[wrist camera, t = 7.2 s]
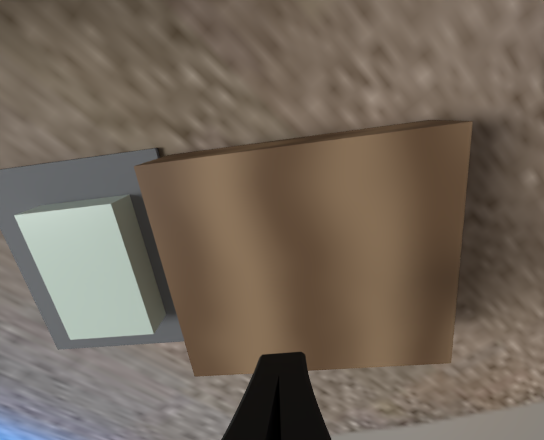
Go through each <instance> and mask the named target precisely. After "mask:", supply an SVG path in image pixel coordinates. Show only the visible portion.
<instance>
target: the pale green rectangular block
mask: <svg viewBox="0 0 544 440" xmlns="http://www.w3.org/2000/svg"><path fill="white" fill-rule="evenodd" d="M14 217H15V219H16V221H17V223H18V225H19V228H20V230H21V232H22V234H23V236H24V239H25V241H26V243H27V245H28V248H29V250H30V252H31V254H32V256H33V259H34V261H35V263H36V265H37V267H38V270H39V272H40V274H41V276H42V278H43V281H44V283H45V285H46V287H47V290H48V292H49V294H50V296H51V298H52V301H53V303H54V305H55V307H56V309H57V312H58V314H59V316H60V318H61V320H62V323H63V325H64V327H65V329H66V332H67V334H68V336H69V338H70V340H75V339H89V338H104V337H118V336H133V335H147V334H154V333H155V331H156V330H157V328H158V327H159V325H160V323H161V322H162V320H163V319H164V317H165V315H166V312H165V309H164V306H163V303H162V299H161V296H160V293H159V290H158V286H157V283H156V280H155V276H154V273H153V270H152V267H151V263H150V260H149V257H148V254H147V250H146V247H145V244H144V240H143V237H142V234H141V231H140V227H139V224H138V221H137V218H136V214H135V211H134V208H133V204H132V201H131V198H130V195H122V196H114V197H106V198H98V199H89V200H81V201H73V202H65V203H56V204H48V205H41V206H38V207H36V208H33V209H30V210H27V211H25V212H22V213H19V214H16V215H14Z"/></svg>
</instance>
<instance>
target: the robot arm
mask: <svg viewBox="0 0 544 440" xmlns="http://www.w3.org/2000/svg"><path fill="white" fill-rule="evenodd" d="M221 440H331V437H330V435H329V432H328V430H327V428H326V425H325V423H324V420H323V417H322V415H321V412H320V409H319V407H318V404H317V401H316V398H315V395H314V392H313V389H312V386H311V382H310V379H309V375H308V369H307V362H306V356H305V354H304V353H303V352H289V353H276V354H262V355H261V356H260V357H259V360H258V362H257V365H256V368H255V370H254V373H253V375H252V378H251V380H250V382H249V385H248V387H247V389H246V391H245V394H244V396H243V398H242V400H241V402H240V404H239V406H238V408H237V410H236V412H235V414H234V416H233V419H232V421H231V423H230V425H229V426H228V428H227V430H226V432H225V434H224V436H223V438H222V439H221Z"/></svg>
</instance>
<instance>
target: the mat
mask: <svg viewBox="0 0 544 440" xmlns="http://www.w3.org/2000/svg"><path fill="white" fill-rule="evenodd" d="M158 158H160V156H159V152H158V148H153V149H146V150H139V151H132V152H124V153H117V154H110V155H102V156H95V157H88V158H81V159H73V160H66V161H59V162H52V163H44V164H37V165H30V166H23V167H15V168H8V169H1V170H0V229H1V231H2V234H3V236H4V238H5V240H6V242H7V244H8V246H9V248H10V250H11V252H12V254H13V257H14V259H15V261H16V263H17V265H18V267H19V269H20V271H21V273H22V275H23V278H24V280H25V282H26V284H27V286H28V288H29V290H30V292H31V294H32V296H33V299H34V301H35V303H36V305H37V307H38V309H39V311H40V313H41V315H42V317H43V320H44V322H45V324H46V326H47V328H48V330H49V332H50V334H51V336H52V338H53V341H54V343H55V345H56V347H57V349H73V348H88V347H104V346H119V345H134V344H149V343H165V342H180V341H184V338H183V334H182V331H181V328H180V324H179V321H178V317H177V314H176V310H175V307H174V304H173V300H172V297H171V293H170V290H169V286H168V283H167V279H166V276H165V273H164V269H163V266H162V262H161V259H160V255H159V252H158V249H157V245H156V242H155V238H154V235H153V231H152V228H151V225H150V221H149V218H148V214H147V211H146V207H145V204H144V201H143V197H142V194H141V190H140V187H139V183H138V180H137V177H136V173H135V170H134V166H136V165H139V164H142V163H145V162H148V161H151V160H155V159H158ZM122 195H130V198H131V201H132V204H133V208H134V211H135V214H136V218H137V221H138V224H139V227H140V231H141V234H142V237H143V240H144V244H145V247H146V250H147V254H148V257H149V260H150V263H151V267H152V270H153V273H154V276H155V280H156V283H157V286H158V290H159V293H160V296H161V299H162V303H163V306H164V309H165V312H166V315H165V317H164V319H163V320H162V322H161V323H160V325H159V327H158V328H157V330H156V331H155V333H154V334H147V335H133V336H118V337H104V338H89V339H75V340H70V338H69V336H68V334H67V332H66V329H65V327H64V325H63V323H62V320H61V318H60V316H59V314H58V312H57V309H56V307H55V305H54V303H53V301H52V298H51V296H50V294H49V292H48V290H47V287H46V285H45V283H44V281H43V278H42V276H41V274H40V272H39V270H38V267H37V265H36V263H35V261H34V259H33V256H32V254H31V252H30V250H29V248H28V245H27V243H26V241H25V239H24V236H23V234H22V232H21V230H20V228H19V225H18V223H17V221H16V219H15V217H14V215H16V214H19V213H22V212H25V211H27V210H30V209H33V208H36V207H38V206H41V205H48V204H56V203H65V202H73V201H81V200H89V199H98V198H106V197H114V196H122Z"/></svg>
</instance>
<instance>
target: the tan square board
mask: <svg viewBox="0 0 544 440" xmlns="http://www.w3.org/2000/svg"><path fill="white" fill-rule="evenodd" d="M472 123H473V121H442V120H427V121H419V122H412V123H404V124H397V125H389V126H382V127H374V128H367V129H360V130H352V131H345V132H337V133H330V134H322V135H315V136H308V137H300V138H293V139H285V140H278V141H270V142H263V143H256V144H248V145H241V146H233V147H226V148H218V149H211V150H203V151H196V152H189V153H181V154H174V155H167V156H164V157H161V158H158V159H155V160H151V161H148V162H145V163H142V164H139V165H136V166H134V170H135V173H136V177H137V180H138V183H139V187H140V190H141V194H142V197H143V201H144V204H145V207H146V211H147V214H148V218H149V221H150V225H151V228H152V231H153V235H154V238H155V242H156V245H157V249H158V252H159V255H160V259H161V262H162V266H163V269H164V273H165V276H166V279H167V283H168V286H169V290H170V293H171V297H172V300H173V304H174V307H175V310H176V314H177V317H178V321H179V324H180V328H181V331H182V334H183V338H184V341H185V345H186V348H187V352H188V355H189V358H190V362H191V365H192V369H193V372H194V376H214V375H233V374H252V373H254V370H255V368H256V365H257V362H258V360H259V357H260V356H261V355H262V354H276V353H289V352H303V353H304V354H305V356H306V362H307V369H308V371H310V370H329V369H348V368H367V367H386V366H405V365H425V364H444V363H451V358H452V346H453V335H454V324H455V313H456V302H457V291H458V279H459V268H460V257H461V246H462V235H463V224H464V212H465V201H466V190H467V179H468V168H469V157H470V145H471V134H472Z"/></svg>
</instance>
